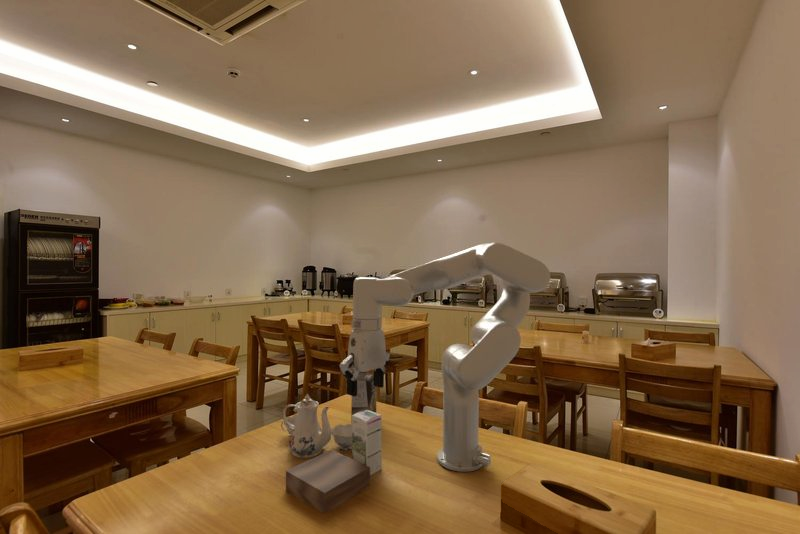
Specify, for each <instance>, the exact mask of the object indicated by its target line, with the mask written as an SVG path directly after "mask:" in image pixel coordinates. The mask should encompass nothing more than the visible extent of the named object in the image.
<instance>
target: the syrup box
mask: <svg viewBox="0 0 800 534" xmlns="http://www.w3.org/2000/svg"><path fill="white" fill-rule="evenodd" d="M382 418H383V417H382V414H380V413H377V412H376V413H375V412H372V411H369V410H364V411H360V412H358V413H356V414H354V415H352V449H351V450H352V452H351V456H352V457H351V459H353V460H355V461H358V462H360V463H362V464H364V465H366V466H368V467H370V476H372V475H374V474H376V473H377V472H380V471H381V470H382V468H383V466H382V465H383V464H382V463H383V462H382V461H383V459H382V447H383V446H382V440H383V439H382V437H383V436H382V432H383V431H382V429H383V428H382V427H383V425H382Z"/></svg>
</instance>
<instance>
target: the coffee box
mask: <svg viewBox="0 0 800 534" xmlns="http://www.w3.org/2000/svg"><path fill="white" fill-rule="evenodd" d="M373 379H374V372H373V373H372V372H359V374H358V376H357V377H356V379H355V380H357V396H355V397H354V396H351V407H350V409H351V415H350V418H351V419H350V420H351V422H350V424H352V415H354V414H356V413H358V412H360V411H364V410H369V411H372V412H375V413H377V389H378V387H377V386H374V385H373Z"/></svg>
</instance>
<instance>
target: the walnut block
mask: <svg viewBox="0 0 800 534" xmlns="http://www.w3.org/2000/svg"><path fill="white" fill-rule="evenodd" d="M370 486H371V475H370V467H368V466H366V465H364V464H362V463H360V462H358V461H355V460H353V459H352V457H351V458H350V457H348V456H347V455H344V454H342V453H341V452H338V451H336V450H333V449H329V450H328V451H326V452H323V453H320V454H318V455H316V456H314V457H311V458H309V459H308V460H306V461H304V462H302V463H299V464H297V465H295V466H293V467H291V468H289V469H286V470H285V491H287V493H289V494H291V495H292V496H294V497H296V498H297V499H299V500H301V501H302V502H303V503H306V504H307V505H309V506H310V507H312V508H313V509H314V510H317V511H318V512H320V513H322V514H323V515H326V514H328V513H329V512H331V511H332V510H334V509H336V508H338V507H339V506H340V505H342V504H343V503H346V502H347V501H349V500H350V499H352V498H354V497H355V496H356V495H359V494H360V493H361V492H363V491H365V490H366V489H368V488H369V487H370Z"/></svg>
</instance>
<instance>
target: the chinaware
mask: <svg viewBox="0 0 800 534" xmlns="http://www.w3.org/2000/svg"><path fill="white" fill-rule="evenodd" d="M319 403H320V402H318V400H317V401H316V400H313V398H311V396H310V395H309V394H308V393H307V394H306V395H305V396H304V398H303V399H302V400H301V401H299V402H297V403H296V404H291V403H290V404H287V405H286V406H285V407H284V408H283V410H282V413H281V415H282V417H281V418H282V420H283V421H282V422H281V424H280V427H281V429H282V430H283V431H284V432H286V431H287V433H288V434H289V435H290V437H289V439H288V442H287V447H288V449H289V450H291V454H292V455H293V456H294V457H295V458H299V459H307V458H309V459H310V458H314V457H317V456H319V455H321V454H322V452H323V448H324V447H327V446H326V445H328V443H330V441H331V438H332V437H333V440H334V442H335V444H336V445H337V446H339V447H340V450H344V451H347V450H352V424H351V423H347V424H345V425H344V424H336V425H335V426H334V427H333V428H332V427H331V425H330V421H329V418H328V415H327V414H328V413H327V412H328V410H329V409H330V406H325V407H323V409H321V426H320V423H319V420H318V407H319ZM292 407H294V408H293V411H294V412H295V413H296V414H294V415H292V416H291V417H290V416H286V411H287V409H288V408H292ZM283 424H284V426H285V428H286V429H285V428H284V426H283Z"/></svg>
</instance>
